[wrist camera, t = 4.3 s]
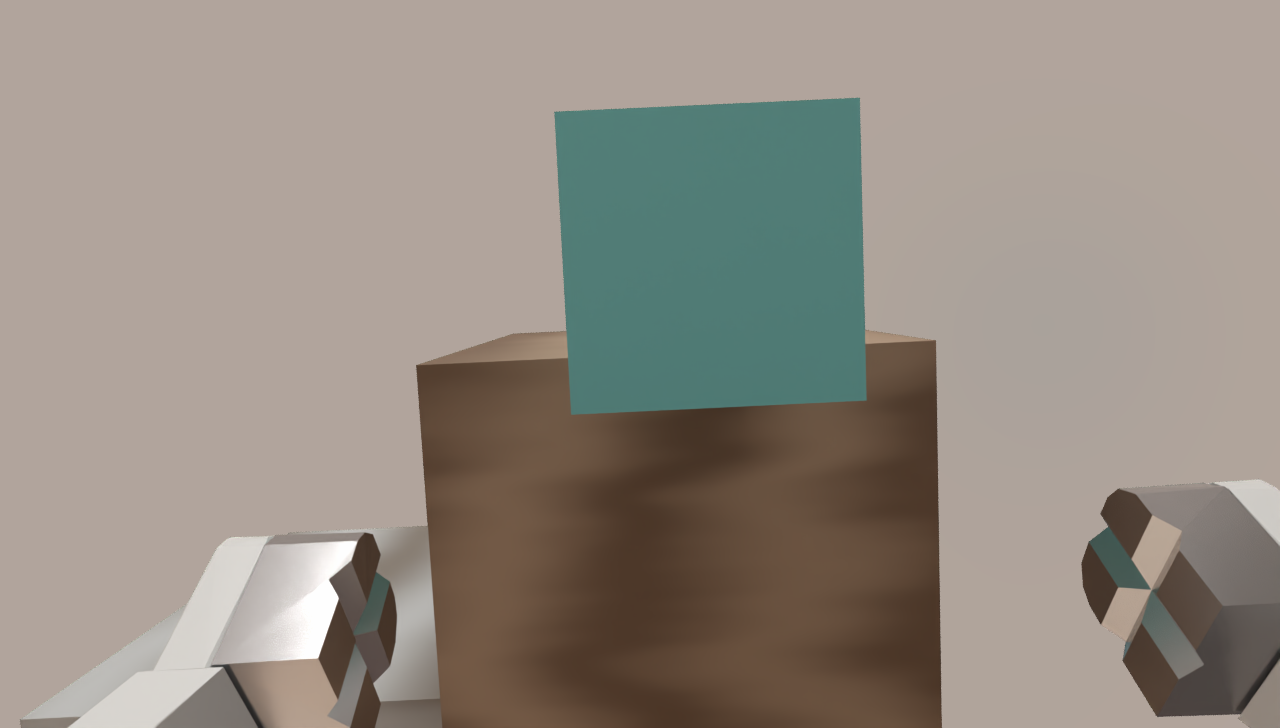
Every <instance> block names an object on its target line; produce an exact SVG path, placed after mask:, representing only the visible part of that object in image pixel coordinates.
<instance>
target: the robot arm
mask: <svg viewBox="0 0 1280 728" xmlns="http://www.w3.org/2000/svg"><path fill="white" fill-rule="evenodd" d="M1101 516H1102V517H1103V519H1104V520H1105V522H1106V523H1107V525H1108V528H1106V529H1105V530H1104V531H1102V532H1101V533H1100V534H1098V535H1097V536H1096V537H1095V538H1093V539H1092V540H1091V541H1089V543H1088V546H1087V549H1086V551H1085V554H1084V557H1083V560H1082V577H1083V588H1084V590H1085V593H1086V596H1087V599H1088V602H1089V605H1090V607H1091V609H1092V610H1093V612H1094V613H1095V615H1096V617H1097V619H1098V620H1099V622H1100V624H1101V625H1102V626H1103V627H1105V628H1106V629H1108V630H1109V631H1111V632H1112V633H1114V634H1115V635H1117V636H1118V637H1119V638H1121V639H1123V640H1124V641H1125V642H1126V644H1125V650H1124V655H1123V662H1124V664H1125V665H1126V667H1127V669H1128V670H1129V672H1130V674H1131V675H1132V677H1133V678H1134V680H1135V682H1136V683H1137V685H1138V687H1139V688H1140V690H1141V691H1142V693H1143V695H1144V696H1145V698H1146V700H1147V701H1148V703H1149V705H1150V706H1151V708H1152V709H1153V711H1154V712H1155V714H1156V716H1157V717H1164V716H1197V715H1229V714H1241V715H1240V716H1239V718H1238V719H1239V720H1241V721H1242V722H1243V723H1245V724H1246V725H1247V726H1248V727H1249V728H1280V491H1279V490H1278V489H1277V488H1275V487H1274V486H1272V485H1270V484H1268V483H1266V482H1264V481H1262V480H1245V481H1230V482H1214V483H1209V484H1206V483H1195V484H1182V485H1181V484H1180V485H1166V486H1151V487H1138V488H1137V487H1136V488H1123V489H1117V490H1116V491H1115V492H1114V493H1112V494H1111V495H1110V496H1109V497H1108V498H1107V500H1106V502H1105V505H1104V507H1103V510H1102V511H1101ZM380 556H381V554H380V551H379V549H378V546H377V543H376V541H375V538H374V536H373V534H370V533H366V532H357V533H326V534H294V535H275V536H257V537H230V538H228V539H227V540H226V541H224V542H223V543H222V544H221V545H220V546H219V547H218V548H217V549H216V550H215V552H214V554H213V556H212V558H211V560H210V562H209V564H208V565H207V567H206V569H205V571H204V573H203V575H202V577H201V579H200V581H199V583H198V584H197V586H196V588H195V590H194V592H193V594H192V596H191V598H190V600H189V602H188V604H187V606H186V607H185V609H184V611H183V613H182V615H181V617H180V619H179V621H178V623H177V625H176V627H175V629H174V630H173V632H172V634H171V636H170V638H169V640H168V642H167V644H166V646H165V648H164V650H163V651H162V653H161V655H160V657H159V659H158V661H157V663H156V665H155V667H154V669H153V670H152V671H141V672H137V673H135V674H134V675H133V676H132V677H130V678H129V679H128V680H127V681H125V682H124V683H123V684H122V685H120V686H119V687H118V688H117V689H115V690H114V691H113V692H112V693H110V694H109V695H108V696H107V697H105V698H104V699H103V700H102V701H100V702H99V703H98V704H97V705H95V706H94V707H93V708H92V709H90V710H89V711H88V712H87V713H85V714H84V715H83V716H82V717H80V718H79V719H78V720H77V721H75V722H74V723H73V724H72V725H70V726H69V727H68V728H375V725H376V721H377V718H378V714H379V710H380V706H381V703H380V700H379V697H378V695H377V692H376V689H375V687H374V684H373V683H374V682H375V681H376V680H377V679H378V678H379V677H380V676H381V675H382V674H383V673H384V672H385V671H386V670H387V669H388V668H389V667H390V665H391V660H392V656H393V652H394V647H395V643H396V627H397V610H396V603H395V596H394V593H393V590H392V586H391V583H390V581H388V580H387V579H385V578H384V577H383V576H381V575H380V574H378V573H377V572H376V570H377V567H378V563H379V560H380Z"/></svg>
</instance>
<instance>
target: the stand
mask: <svg viewBox="0 0 1280 728" xmlns="http://www.w3.org/2000/svg"><path fill="white" fill-rule="evenodd" d="M865 354H866V398H867V401H846V402H826V403H805V404H784V405H763V406H743V407H722V408H701V409H680V410H659V411H639V412H618V413H597V414H576V415H571V403H570V385H569V367H568V349H567V331H561V332H541V333H520V334H511V335H508V336H505V337H502V338H499V339H496V340H492V341H489V342H487V343H483V344H480V345H477V346H474V347H471V348H468V349H465V350H462V351H459V352H456V353H453V354H450V355H446V356H443V357H440V358H437V359H434V360H431V361H428V362H425V363H422V364H419V365H416V368H417V382H418V395H419V409H420V422H421V423H420V424H421V438H422V450H423V451H422V452H423V466H424V480H425V493H426V508H427V522H428V526H417V527H399V528H398V527H397V528H376V529H356V530H337V531H315V532H296V533H295V532H294V533H288V534H287V535H294V534H326V533H357V532H366V533H370V534H373V536H374V538H375V541H376V543H377V546H378V549H379V551H380V554H381V556H380V560H379V563H378V567H377V570H376V572H377V573H378V574H380V575H381V576H383V577H384V578H385V579H387V580H388V581H390V583H391V586H392V590H393V593H394V596H395V603H396V610H397V627H396V643H395V647H394V652H393V656H392V660H391V665H390V667H389V668H388V669H387V670H386V671H385V672H384V673H383V674H382V675H381V676H380V677H379V678H378V679H377V680H376V681H375V682H374V683H373V684H374V687H375V689H376V692H377V695H378V697H379V700H380V703H381V706H380V710H379V714H378V718H377V721H376V725H375V728H942V717H941V650H940V649H941V648H940V588H939V587H940V583H939V517H938V453H937V451H938V450H937V383H936V340H928V339H923V338H916V337H909V336H903V335H896V334H889V333H883V332H875V331H869V330H865ZM187 604H188V603H187ZM187 604H186V605H185V606H183V607H182V608H180V609H179V610H177V611H176V612H174V613H173V614H172V615H170V616H169V617H167V618H166V619H164V620H163V621H161V622H160V623H159V624H157V625H156V626H154V627H153V628H152V629H150V630H148V631H147V632H146V633H144V634H143V635H141V636H140V637H138V638H137V639H136V640H134V641H133V642H131V643H130V644H128V645H127V646H125V647H124V648H123V649H121V650H120V651H118V652H117V653H115V654H114V655H113V656H111V657H110V658H108V659H107V660H105V661H104V662H103V663H101V664H99V665H98V666H97V667H95V668H94V669H92V670H91V671H90V672H88V673H86V674H85V675H84V676H82V677H81V678H79V679H78V680H77V681H75V682H73V683H72V684H71V685H69V686H68V687H66V688H65V689H63V690H62V691H61V692H59V693H58V694H56V695H55V696H53V697H52V698H50V699H49V700H48V701H46V702H45V703H43V704H42V705H40V706H39V707H38V708H36V709H35V710H33V711H32V712H30V713H29V714H27V715H26V716H24V717H23V718H22V719H20V724H21V728H68V727H69V726H70V725H72V724H73V723H74V722H75V721H77V720H78V719H79V718H80V717H82V716H83V715H84V714H85V713H87V712H88V711H89V710H90V709H92V708H93V707H94V706H95V705H97V704H98V703H99V702H100V701H102V700H103V699H104V698H105V697H107V696H108V695H109V694H110V693H112V692H113V691H114V690H115V689H117V688H118V687H119V686H120V685H122V684H123V683H124V682H125V681H127V680H128V679H129V678H130V677H132V676H133V675H134V674H135V673H137V672H141V671H152V670H153V669H154V667H155V665H156V663H157V661H158V659H159V657H160V655H161V653H162V651H163V650H164V648H165V646H166V644H167V642H168V640H169V638H170V636H171V634H172V632H173V630H174V629H175V627H176V625H177V623H178V621H179V619H180V617H181V615H182V613H183V611H184V609H185V607H186V606H187Z"/></svg>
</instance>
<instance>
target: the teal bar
mask: <svg viewBox="0 0 1280 728" xmlns="http://www.w3.org/2000/svg"><path fill="white" fill-rule="evenodd" d="M554 113H555V129H556V148H557V166H558V184H559V203H560V221H561V240H562V258H563V276H564V294H565V312H566V329H567V349H568V367H569V385H570V403H571V415H576V414H597V413H618V412H639V411H659V410H680V409H701V408H722V407H743V406H763V405H784V404H805V403H826V402H846V401H867V398H866V354H865V312H864V311H865V310H864V269H863V268H864V267H863V225H862V224H863V223H862V177H861V135H860V98H845V99H823V100H801V101H780V102H759V103H736V104H714V105H693V106H671V107H649V108H627V109H605V110H584V111H563V112H554Z"/></svg>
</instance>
